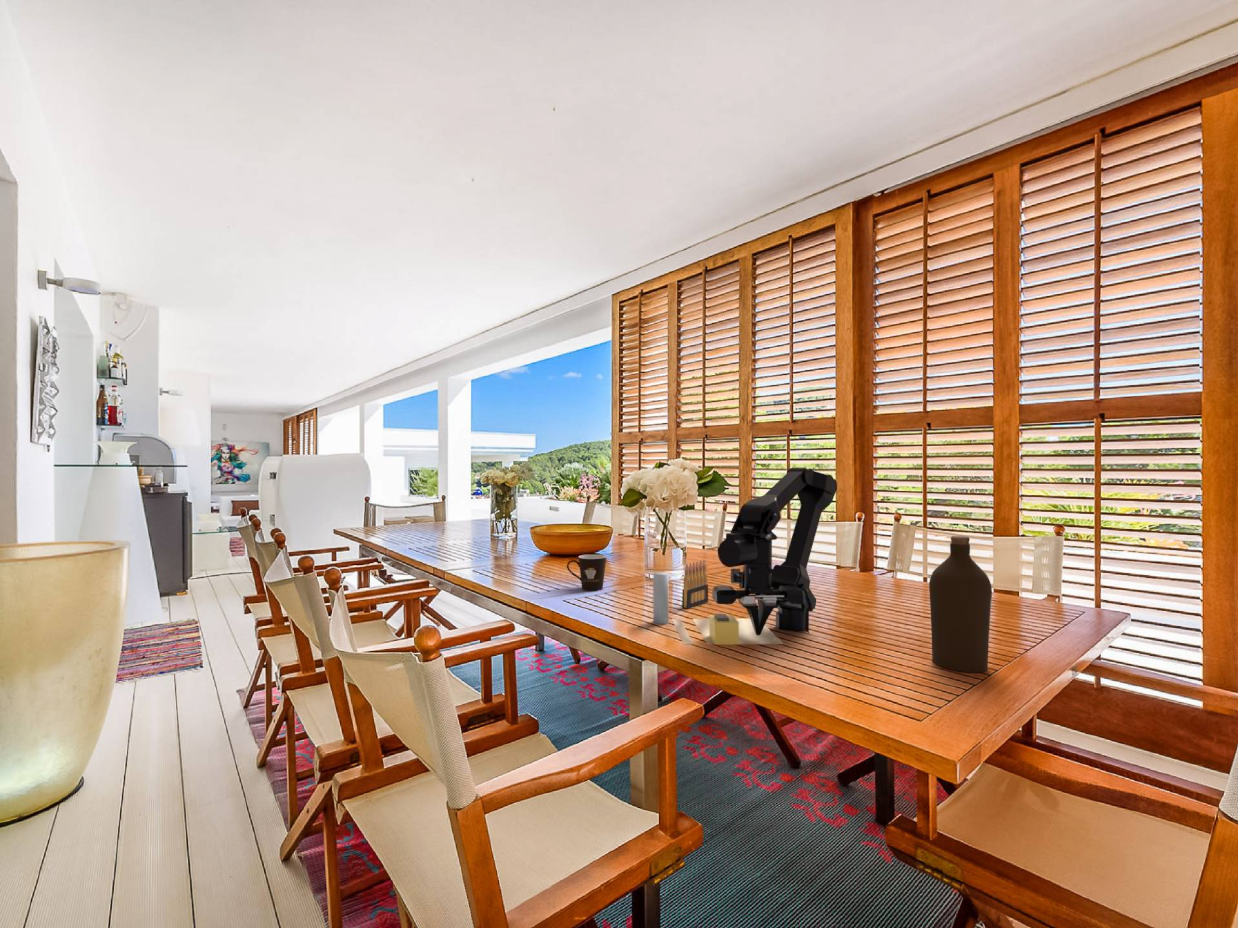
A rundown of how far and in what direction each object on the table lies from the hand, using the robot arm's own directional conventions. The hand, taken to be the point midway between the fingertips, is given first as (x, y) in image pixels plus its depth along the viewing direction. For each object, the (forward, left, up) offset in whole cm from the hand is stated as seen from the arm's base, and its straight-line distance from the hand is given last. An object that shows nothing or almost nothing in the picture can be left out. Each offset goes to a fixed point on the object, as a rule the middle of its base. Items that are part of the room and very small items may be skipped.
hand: (757, 634), depth 126 cm
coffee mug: (+37, -59, -3) cm, 70 cm away
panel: (+6, -7, -2) cm, 9 cm away
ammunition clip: (+7, -37, -3) cm, 38 cm away
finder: (+7, 0, -1) cm, 7 cm away
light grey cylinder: (+19, -14, -2) cm, 24 cm away
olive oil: (-37, +12, -3) cm, 39 cm away
